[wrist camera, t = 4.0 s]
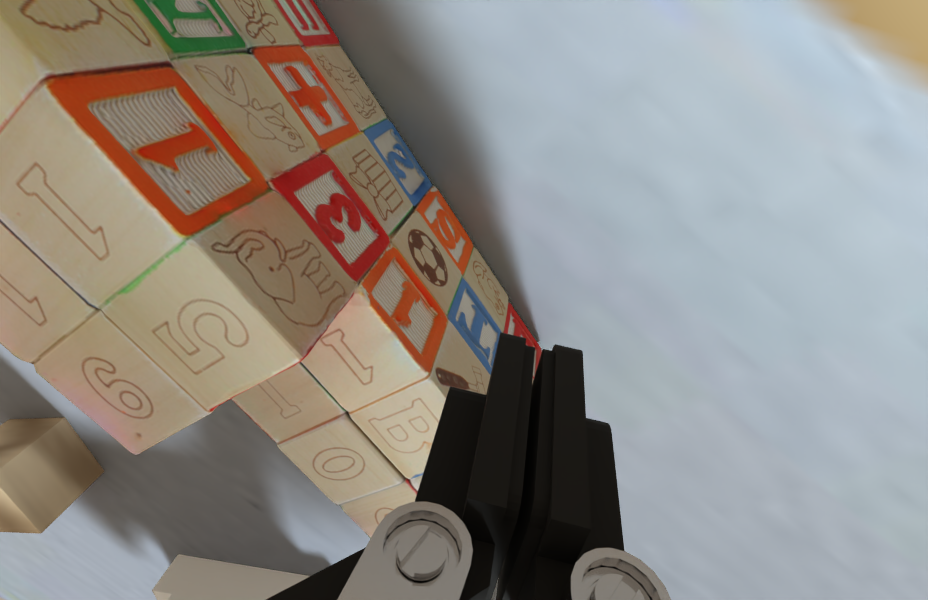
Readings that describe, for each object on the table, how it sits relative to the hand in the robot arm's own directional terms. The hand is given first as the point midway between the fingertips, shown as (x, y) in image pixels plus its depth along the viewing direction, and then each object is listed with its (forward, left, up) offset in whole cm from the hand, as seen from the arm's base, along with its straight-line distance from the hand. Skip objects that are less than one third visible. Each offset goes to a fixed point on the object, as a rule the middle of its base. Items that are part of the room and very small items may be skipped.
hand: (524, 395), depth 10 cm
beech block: (+29, +23, -11) cm, 39 cm away
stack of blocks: (+8, 0, -11) cm, 14 cm away
